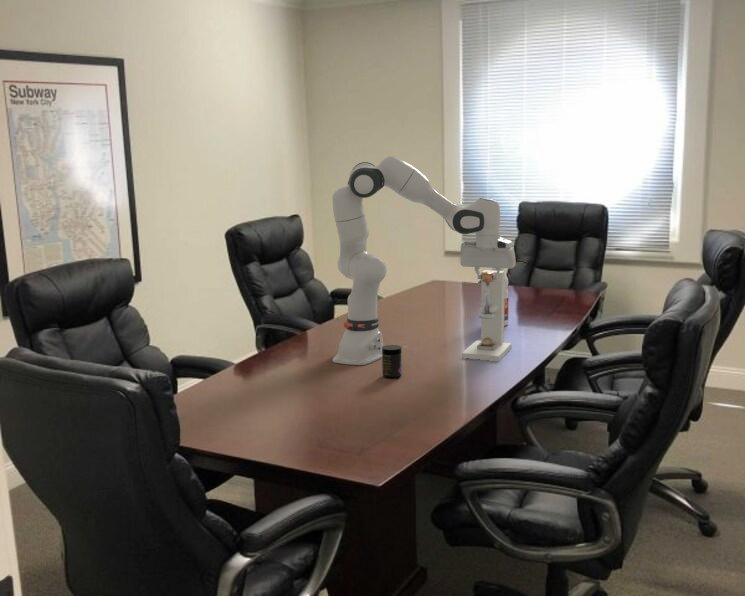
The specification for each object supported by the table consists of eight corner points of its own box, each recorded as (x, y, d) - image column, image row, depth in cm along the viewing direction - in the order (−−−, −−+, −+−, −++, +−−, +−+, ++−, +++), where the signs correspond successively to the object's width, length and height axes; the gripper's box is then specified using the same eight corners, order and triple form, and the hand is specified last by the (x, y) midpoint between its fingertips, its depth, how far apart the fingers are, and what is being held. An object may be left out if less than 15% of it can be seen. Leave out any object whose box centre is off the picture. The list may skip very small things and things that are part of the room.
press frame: (499, 361, 291) (499, 280, 285) (461, 358, 296) (461, 278, 290) (511, 348, 309) (512, 271, 303) (476, 345, 314) (476, 269, 308)
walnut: (491, 349, 300) (491, 339, 299) (480, 348, 301) (480, 338, 300) (493, 347, 303) (493, 336, 302) (483, 346, 305) (483, 336, 304)
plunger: (493, 319, 296) (493, 274, 293) (477, 318, 298) (477, 274, 295) (497, 315, 301) (497, 272, 298) (481, 314, 304) (481, 271, 300)
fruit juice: (499, 321, 355) (500, 258, 350) (512, 325, 347) (513, 261, 341) (482, 323, 351) (482, 260, 346) (494, 327, 343) (495, 263, 337)
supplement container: (399, 380, 271) (398, 350, 269) (380, 378, 273) (379, 349, 271) (404, 374, 277) (403, 345, 275) (385, 373, 279) (384, 344, 277)
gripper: (458, 242, 295) (458, 279, 298) (513, 244, 288) (512, 282, 290) (463, 240, 301) (462, 276, 304) (516, 242, 293) (516, 279, 296)
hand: (487, 279), depth 297 cm, fingers closed on plunger, 4 cm apart
